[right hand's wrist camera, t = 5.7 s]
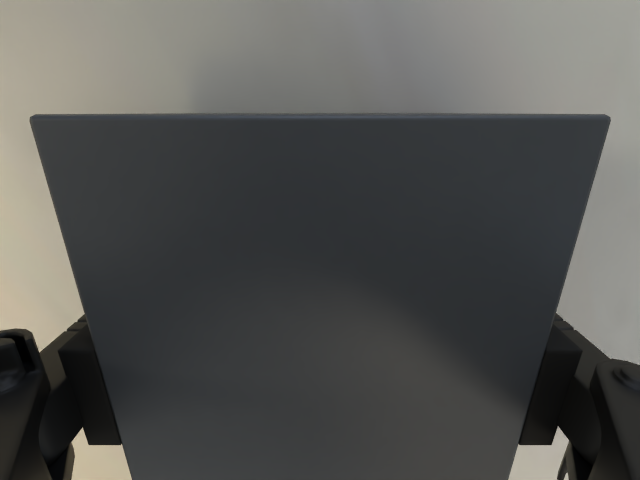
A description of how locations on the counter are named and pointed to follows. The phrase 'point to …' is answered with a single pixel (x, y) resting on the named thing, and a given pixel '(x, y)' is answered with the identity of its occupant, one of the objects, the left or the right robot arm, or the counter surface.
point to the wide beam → (320, 283)
